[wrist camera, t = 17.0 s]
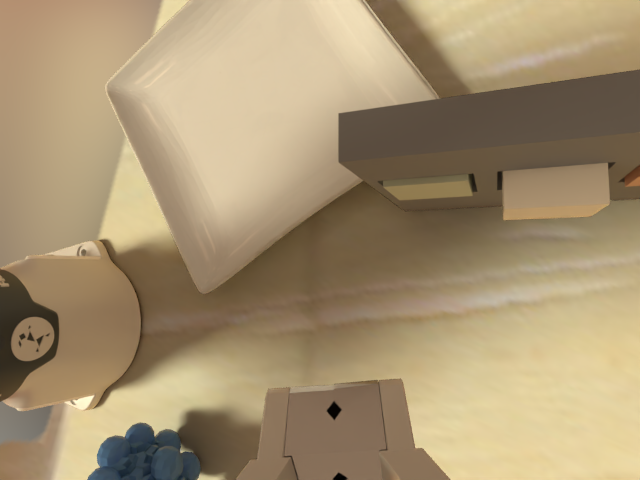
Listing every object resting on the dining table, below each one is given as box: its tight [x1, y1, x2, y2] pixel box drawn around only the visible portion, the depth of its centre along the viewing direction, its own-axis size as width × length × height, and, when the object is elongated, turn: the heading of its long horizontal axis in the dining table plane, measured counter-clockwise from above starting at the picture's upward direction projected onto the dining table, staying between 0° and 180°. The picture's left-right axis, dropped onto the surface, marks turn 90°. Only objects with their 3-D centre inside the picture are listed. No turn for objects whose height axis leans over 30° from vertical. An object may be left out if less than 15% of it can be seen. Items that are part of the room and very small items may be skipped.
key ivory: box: [502, 163, 610, 220], centre depth 25 cm, size 5×4×5 cm
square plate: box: [105, 0, 441, 294], centre depth 42 cm, size 27×27×4 cm
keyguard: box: [338, 70, 640, 211], centre depth 26 cm, size 20×7×17 cm, turn 90°
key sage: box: [383, 174, 473, 200], centre depth 27 cm, size 5×4×5 cm
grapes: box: [87, 423, 201, 480], centre depth 37 cm, size 12×7×12 cm, turn 49°
